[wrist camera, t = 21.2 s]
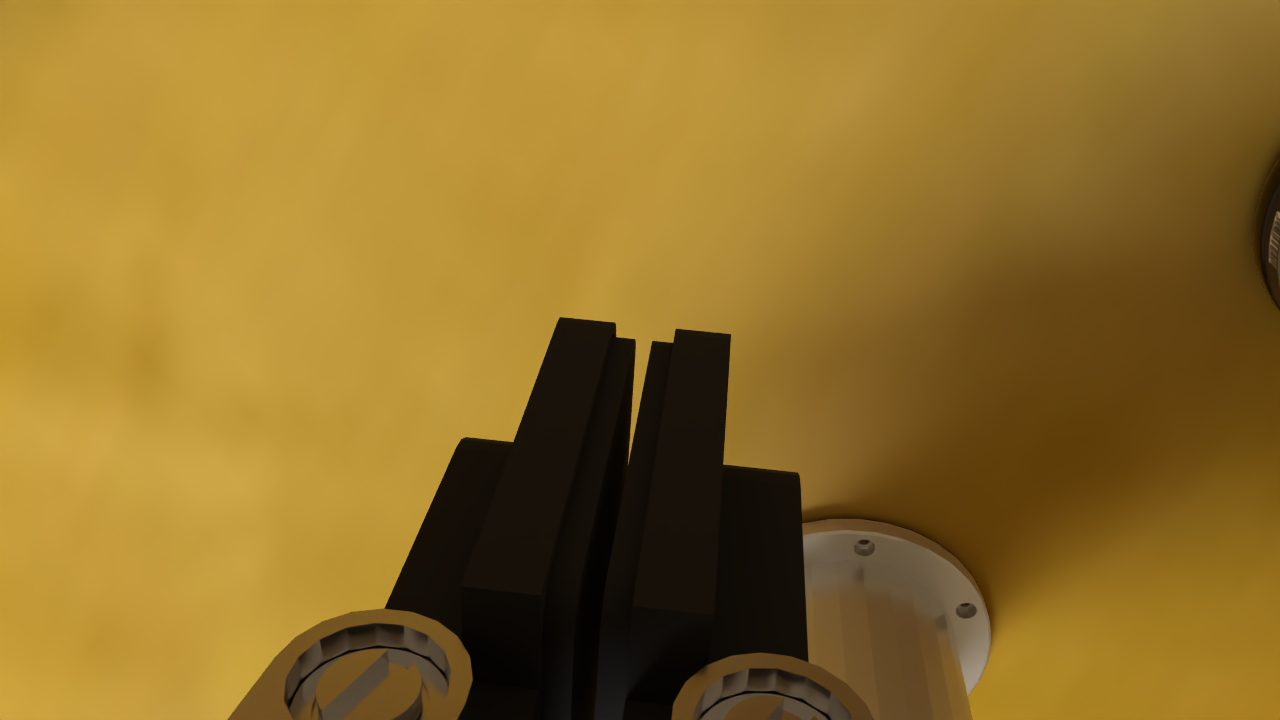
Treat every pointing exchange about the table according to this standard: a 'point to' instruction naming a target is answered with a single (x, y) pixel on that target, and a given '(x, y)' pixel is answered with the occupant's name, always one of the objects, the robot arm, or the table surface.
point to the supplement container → (1269, 236)
